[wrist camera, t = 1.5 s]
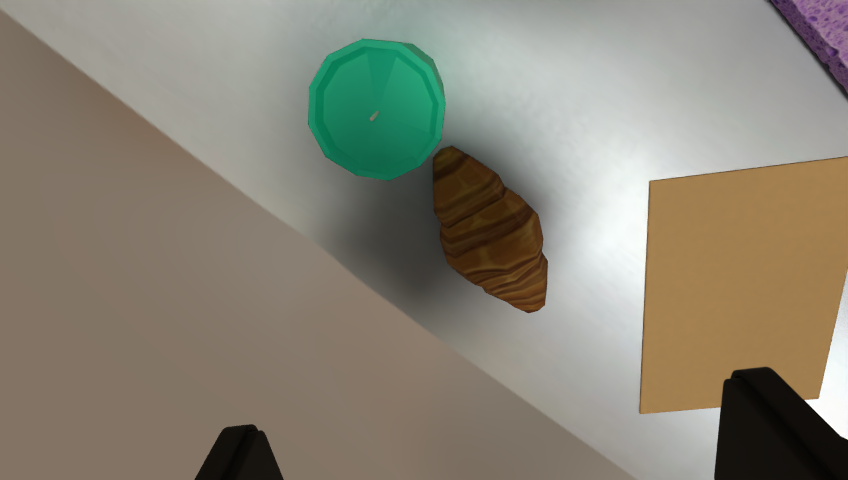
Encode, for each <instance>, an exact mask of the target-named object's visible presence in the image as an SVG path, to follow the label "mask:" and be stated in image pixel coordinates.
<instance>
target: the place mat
mask: <svg viewBox="0 0 848 480" xmlns="http://www.w3.org/2000/svg"><path fill="white" fill-rule="evenodd" d="M847 269H848V157H840V158H832V159H824V160H816V161H808V162H800V163H791V164H783V165H775V166H767V167H759V168H751V169H743V170H735V171H727V172H719V173H711V174H703V175H695V176H686V177H678V178H670V179H662V180H654V181H650V188H649V210H648V233H647V256H646V278H645V301H644V324H643V346H642V369H641V392H640V414H647V413H659V412H670V411H682V410H693V409H705V408H716V407H721V401H722V391H723V383H724V381H725V379H730V378H731V375H732V372H733V371H734V370H740V369H749V368H758V367H769V368H771V369H773V370H774V371H775V372H776V373H777V374H778V375H779V376H780V377H781V378H782V379H783V380H784V381H785V382H786V383H787V384H788V385H789V386H790V387H791V388H792V389H793V390H794V391H795V392H796V393H797V394H798V395H799V396H800V397H801V398H802V399H803V400H809V399H819V394H820V390H821V385H822V381H823V376H824V372H825V367H826V363H827V359H828V354H829V350H830V345H831V341H832V336H833V332H834V327H835V323H836V318H837V314H838V310H839V305H840V301H841V296H842V292H843V287H844V283H845V278H846V274H847Z"/></svg>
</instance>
